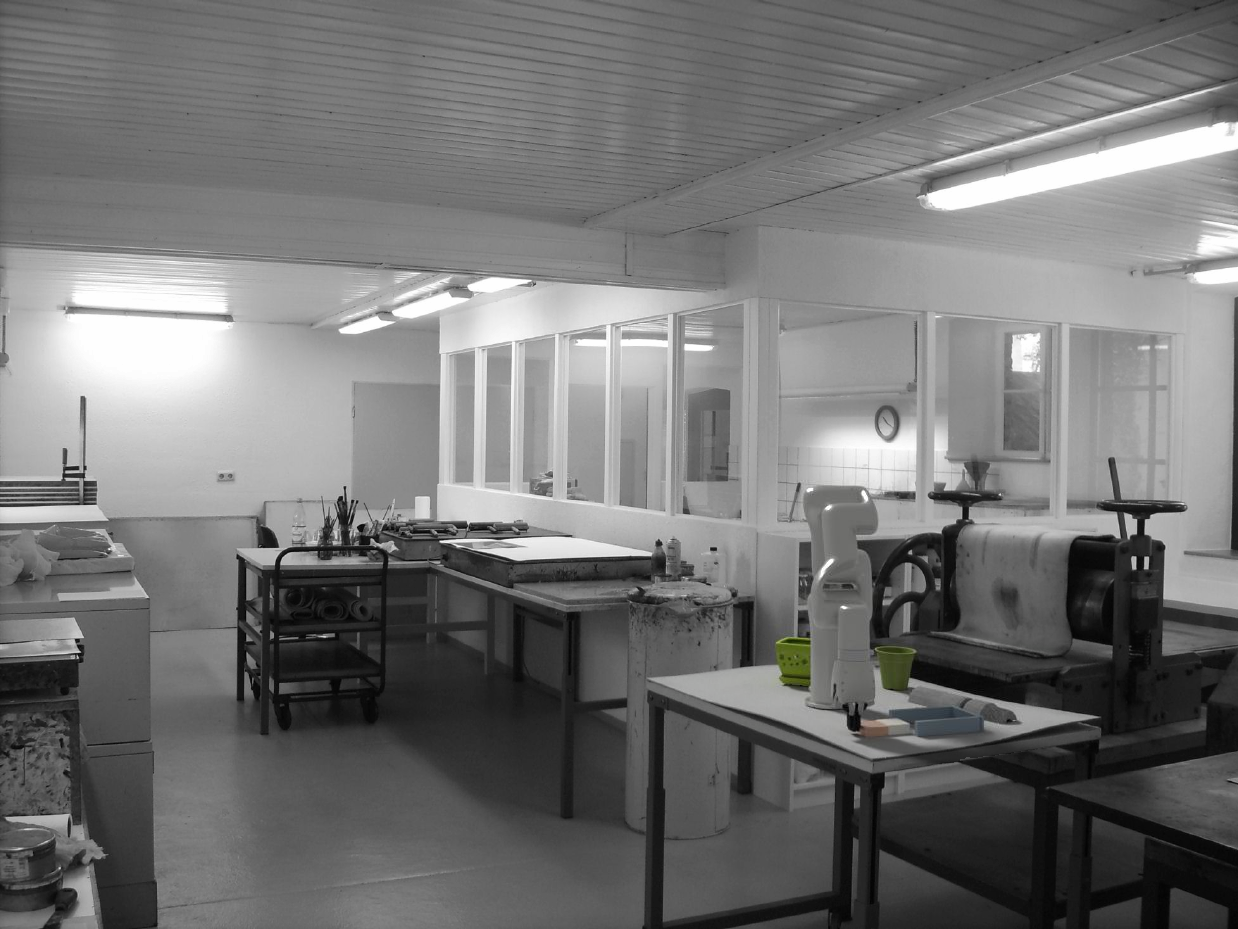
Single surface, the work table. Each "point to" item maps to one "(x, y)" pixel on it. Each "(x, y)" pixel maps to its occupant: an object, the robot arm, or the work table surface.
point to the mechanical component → (960, 704)
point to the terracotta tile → (873, 729)
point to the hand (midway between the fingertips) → (853, 730)
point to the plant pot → (895, 666)
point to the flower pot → (794, 660)
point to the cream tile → (896, 726)
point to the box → (940, 720)
